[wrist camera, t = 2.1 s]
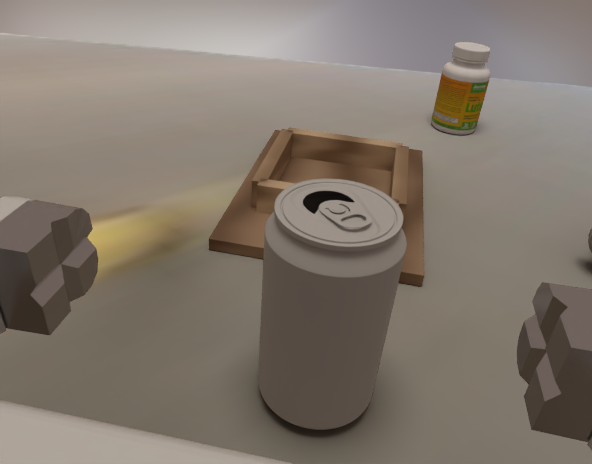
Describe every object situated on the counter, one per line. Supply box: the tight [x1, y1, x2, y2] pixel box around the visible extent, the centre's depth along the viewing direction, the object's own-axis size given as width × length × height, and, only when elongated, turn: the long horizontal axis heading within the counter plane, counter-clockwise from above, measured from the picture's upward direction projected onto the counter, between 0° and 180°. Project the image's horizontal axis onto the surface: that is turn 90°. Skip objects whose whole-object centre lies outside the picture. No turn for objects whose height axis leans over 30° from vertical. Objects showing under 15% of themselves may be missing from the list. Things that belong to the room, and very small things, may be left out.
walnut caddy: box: [209, 128, 424, 286], centre depth 47 cm, size 16×22×4 cm
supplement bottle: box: [432, 42, 490, 135], centre depth 62 cm, size 5×5×10 cm
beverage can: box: [258, 179, 407, 430], centre depth 26 cm, size 6×6×12 cm
